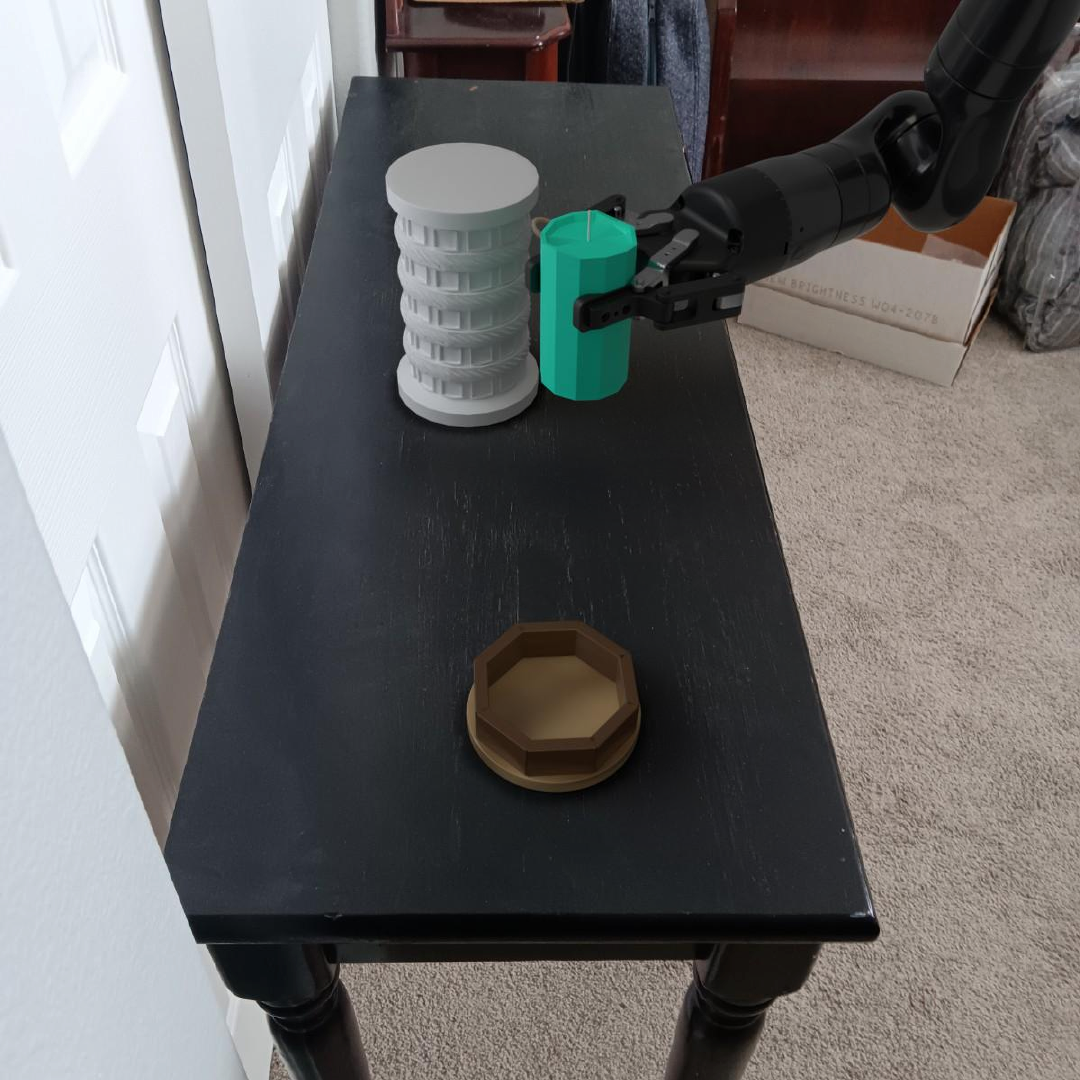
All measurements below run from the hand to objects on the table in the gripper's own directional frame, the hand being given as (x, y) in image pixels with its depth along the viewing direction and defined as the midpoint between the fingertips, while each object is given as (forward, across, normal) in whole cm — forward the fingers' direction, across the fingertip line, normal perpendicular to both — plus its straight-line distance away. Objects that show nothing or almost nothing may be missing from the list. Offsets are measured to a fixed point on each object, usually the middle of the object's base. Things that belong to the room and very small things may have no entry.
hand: (552, 296), depth 67 cm
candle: (-3, 0, +7) cm, 8 cm away
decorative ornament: (-20, -25, +17) cm, 37 cm away
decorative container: (-2, -15, +17) cm, 23 cm away
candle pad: (+11, +16, +17) cm, 26 cm away
